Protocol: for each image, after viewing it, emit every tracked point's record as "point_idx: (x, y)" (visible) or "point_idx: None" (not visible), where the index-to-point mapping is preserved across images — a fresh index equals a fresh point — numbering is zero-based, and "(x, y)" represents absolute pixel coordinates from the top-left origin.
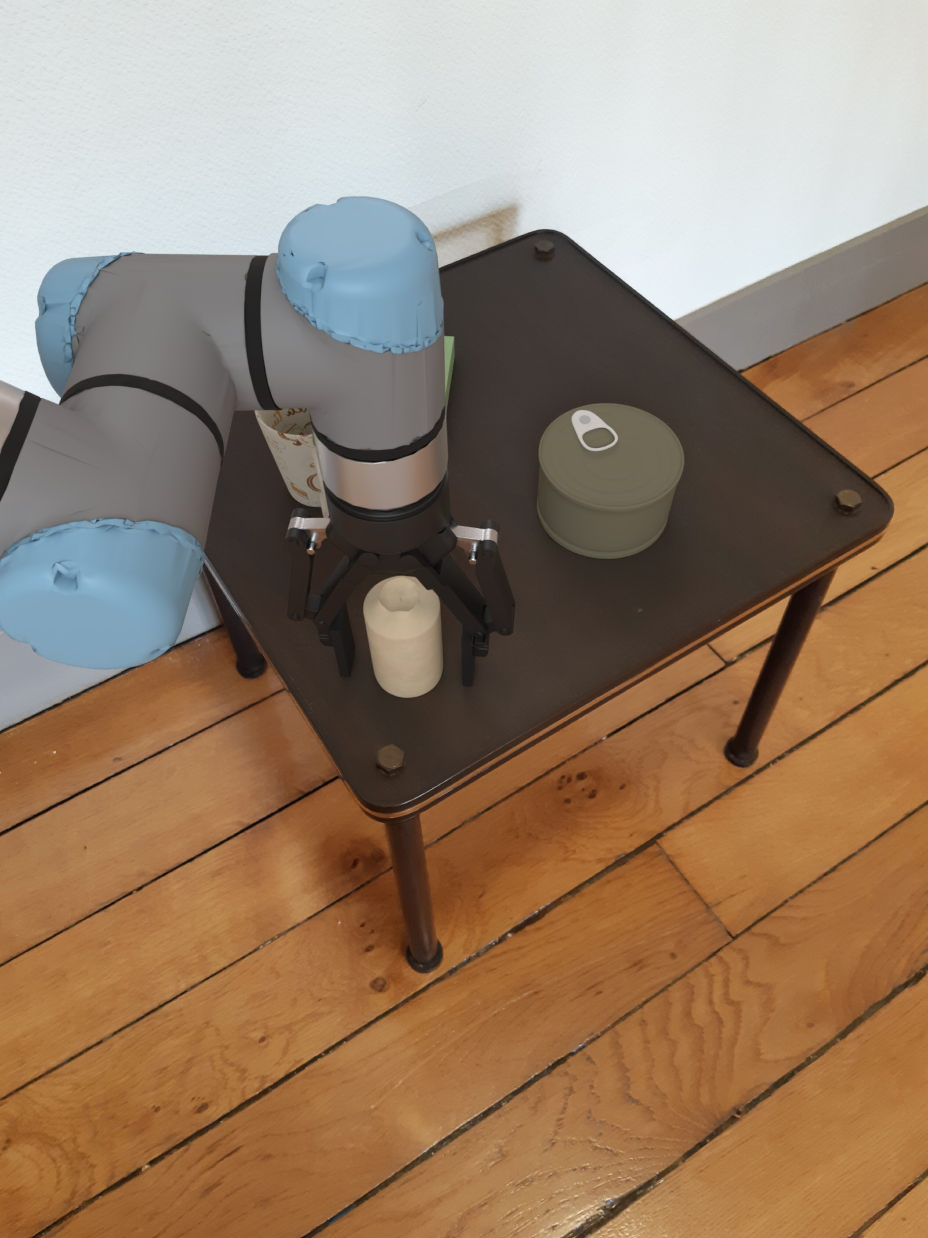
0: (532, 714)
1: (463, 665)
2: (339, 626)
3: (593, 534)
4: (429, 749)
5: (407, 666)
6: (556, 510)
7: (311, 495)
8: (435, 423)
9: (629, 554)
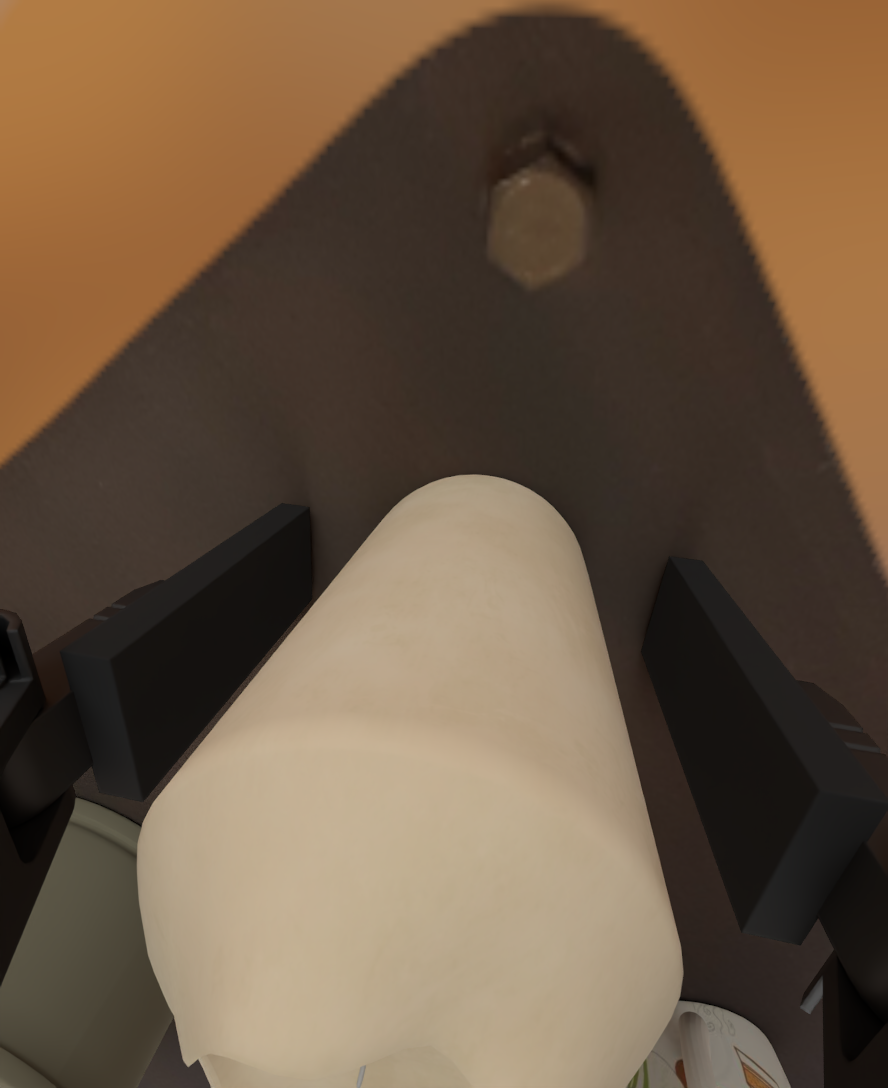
0: (107, 405)
1: (241, 554)
2: (815, 819)
3: None
4: (397, 267)
5: (427, 550)
6: (86, 957)
7: (731, 1070)
8: None
9: None
